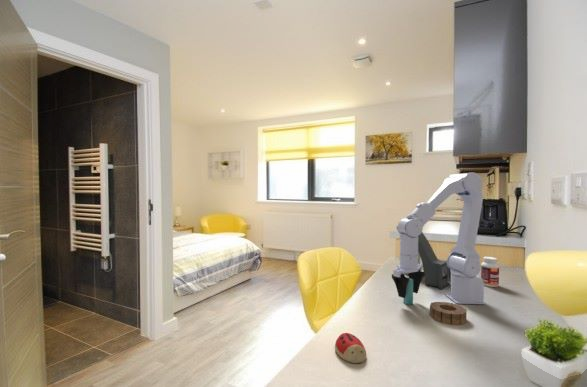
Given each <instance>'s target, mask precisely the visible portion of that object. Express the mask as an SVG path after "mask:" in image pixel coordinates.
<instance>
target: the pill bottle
mask: <svg viewBox="0 0 587 387" xmlns="http://www.w3.org/2000/svg"><path fill="white" fill-rule="evenodd" d="M480 266H481V269H480V277H481V278H482V280H483V283H484V287H490V288H497V287H499V285H500V265H499V264H498V258H496V257H494V256H483V262H481V263H480Z"/></svg>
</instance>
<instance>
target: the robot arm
mask: <svg viewBox="0 0 587 387" xmlns="http://www.w3.org/2000/svg"><path fill="white" fill-rule="evenodd" d="M483 183H484V181H483V179H482V178H481V177H480V175H479V174H477V173H476V172H468V173H467V172H464V173H452V174H450V175H449V176H448V177H447V178H445V179H444V180H443V183H442V184H441V186H440V187H439V188H438V189H437V190H436V191H435V193H433V195H432V196H431V197H430V198H429V199H428V200H427V202H425V201H424V202H423V201H422V202H421V203H417V204H416V206H415V208H414V209H413V210H412V212H410V213H408V214H406V217H405V218H402V219H400V220H399V221H398V225H396V230H397V232H398V234H399V264H397V265H396V269H393V273H392V274H391V278H392V280H393V282H394V284H395V287H396V290H397V291H396V292H397V296H398V297H400V298H403V299H404V298H405V297H406V290H407V285H408V282H409V280H410V279H413V294H418V293H419V290H420V287H421V283H422V282H423V281H422V280H424V275H425V272H423V265H422V264H421V263H420V264H418V235H420V234H421V233H423V229H424V228H423V227H425V225H426V224H427V223H428V222H429V221H430V220H431V219H432V218H433V217H434V216H435V215H436V209H437V208H438V207H439V206H440V205H441V204H443V203H444V202H445V201H446V200H447V199H448V198H449V197H451V195H454V194H456V195H457V196H459V197H460V199H461V200H462V201H463V206H462V212H461V216H460V221H459V228H458V235H457V240H456V245H455V246H452V248H451V249H450V253H449V255H448V256H447V258H446V260H447V266H448V267H449V268H450V272H451V284H450V294H445V297H447V298H448V299H450V300H451V301H452V302H454V304H457V305H462V304H463V305H485V304H486V303H485V302H484V301H485V298H484V297H485V296H484V295H485V294H484V292H485V285H484V283H483V280H482V278H481V275H479V273H481V262H480V261H481V260H480V259H481V256H480V254H479V253H478V251H477V250H476V242H477V236H478V230H479V225H480V218H481V212H482V208H483V207H482V206H483V201H484V195H483V190H482V189H483ZM406 275H408V277H406Z"/></svg>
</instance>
